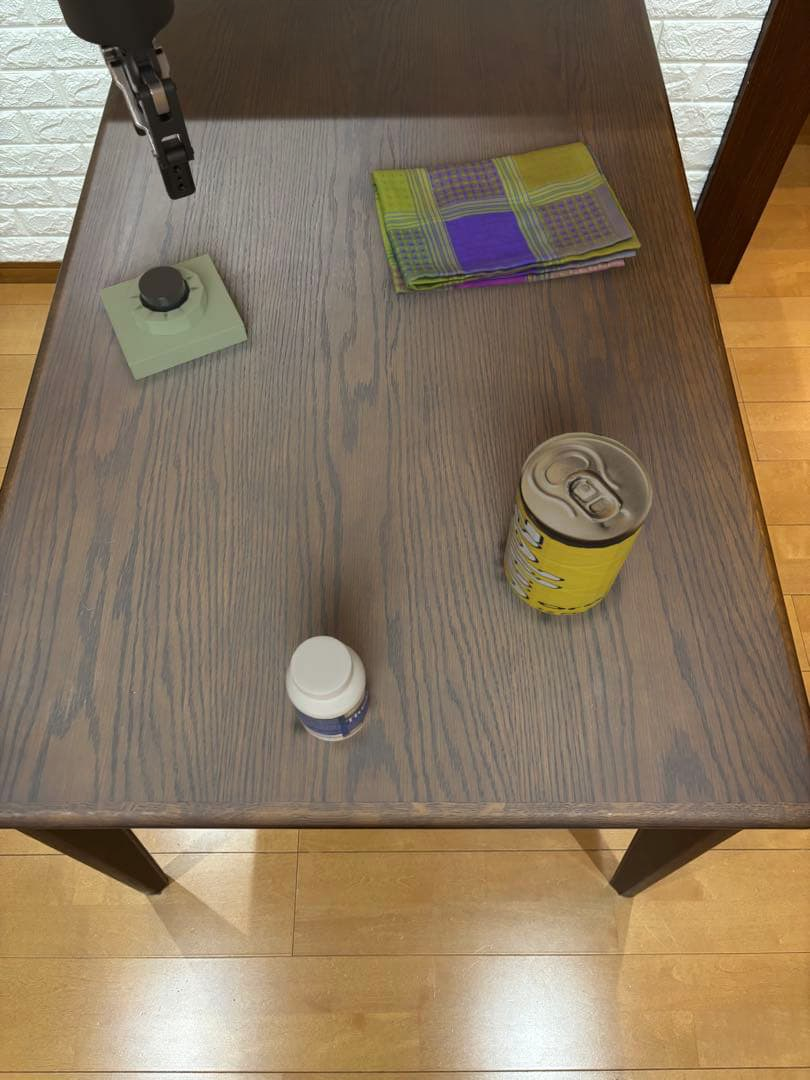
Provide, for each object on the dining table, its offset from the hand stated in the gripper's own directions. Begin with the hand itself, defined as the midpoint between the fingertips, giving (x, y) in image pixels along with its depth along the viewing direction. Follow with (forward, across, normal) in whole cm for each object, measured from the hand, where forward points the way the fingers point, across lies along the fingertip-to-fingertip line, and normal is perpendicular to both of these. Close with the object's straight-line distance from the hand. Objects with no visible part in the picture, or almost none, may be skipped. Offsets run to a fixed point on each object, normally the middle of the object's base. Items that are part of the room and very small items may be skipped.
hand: (165, 162), depth 67 cm
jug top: (+15, +2, -4) cm, 16 cm away
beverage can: (+15, +40, +16) cm, 46 cm away
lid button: (+11, +2, -4) cm, 12 cm away
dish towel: (+15, +4, +30) cm, 34 cm away
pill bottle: (+15, +43, -5) cm, 46 cm away
